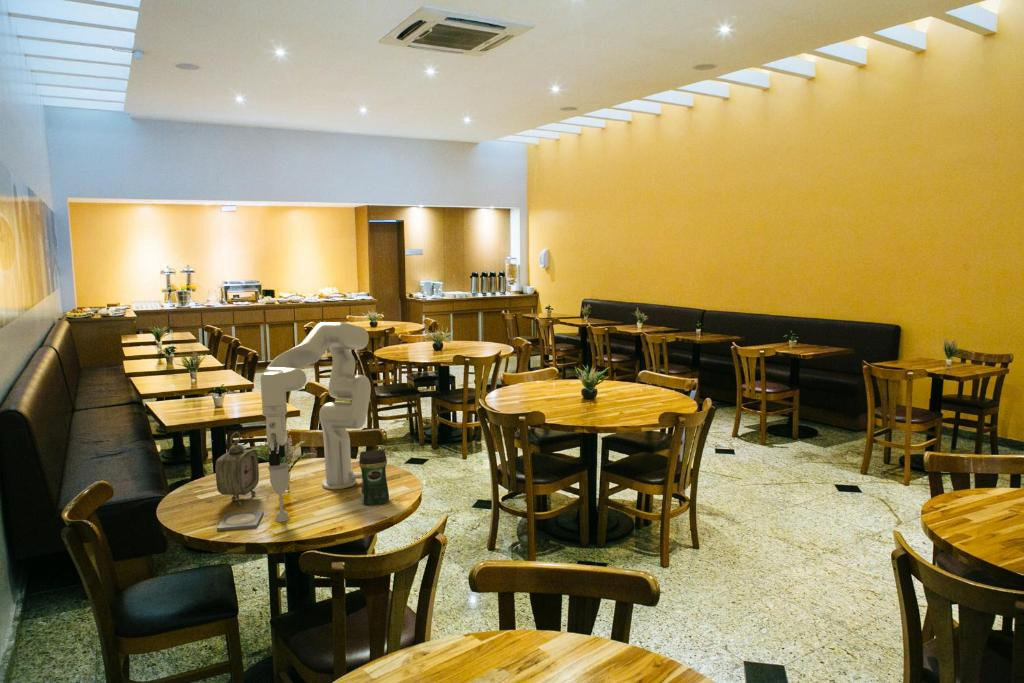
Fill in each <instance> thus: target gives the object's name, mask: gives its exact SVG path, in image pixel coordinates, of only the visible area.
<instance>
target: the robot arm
mask: <svg viewBox="0 0 1024 683" xmlns="http://www.w3.org/2000/svg"><path fill="white" fill-rule="evenodd" d="M369 340H370V339H369V333H368V331H367V330H366V329H365V328H364V327H363V326H359V325H354V324H350V323H349V322H348V323H346V322H339V321H338V322H336V321H335V322H333V321H332V322H331V321H327V322H326V321H324V322H319V323H317V324H316V325H314V327H313V328H311V330H310V331H309V333H308V334H307V335H306V336H305V338H304V339H303V340H302V341H301V342H300V343H299V344H298V345H297V346H294V347H292V348H290V349H288V350H286V351H284V352H282V353H280V354H279V355H277V356H276V357H275V358H273V360H272V361H271V362H270V363H269V364H268V365H267V366H266V368H265V369H264V372H263V373H261V375H260V395H261V410H262V412H261V413H262V416H263V417H265V425H266V431H265V432H266V443H267V446H268V461H269V464H268V465H269V466H279V465H280V463H281V458H285V456H286V450H285V444H286V442H287V440H288V432H287V422H286V421H287V419H286V415H287V414H288V409H287V408H288V407H287V406H288V405H287V392H294V391H299V390H301V389H302V388H303V387H304V386H305V385H306V383H307V375H306V373H305V371H304V370H302V369H301V368H302V367H305V366H309V365H312V364H316V363H317V362H318V361H319V360H320V359H321V358H322V357H323V355H324V354H325V353H326V351H327V350H329V352H330V355H331V358H332V359H331V360H332V366H331V371H330V376H329V383H328V394H329V396H330V397H331V398H333V399H338V400H351V402H342V401H341V402H340V401H330V402H329V401H328V402H326V403H323V405H322V406H321V407H320V409H319V414H318V417H319V420H320V426H321V429H322V434H323V435H322V436H323V448H324V449H323V450H324V452H323V453H324V467H325V479H323V480H322V482H321V487H322V488H324V489H327V490H341V489H346V488H349V487H350V488H351V487H353V486H354V485H355V484H356V483H357V480H362V472H355V471H354V470H353V468H352V457H351V438H350V434H349V432H348V430H349V429H351V430H358V429H362V427H364V425H365V423H366V420H367V416H368V411H369V404H370V398H371V392H372V391H371V390H372V387H371V382H370V379H369V378H368V377H367V376H366V375H364V374H355V372H356V371H355V370H356V360H355V357H354V355H353V353H352V351H351V350H356V351H357V350H363V349H365V348H366V347H367V346H368V344H369ZM347 429H348V430H347Z"/></svg>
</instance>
